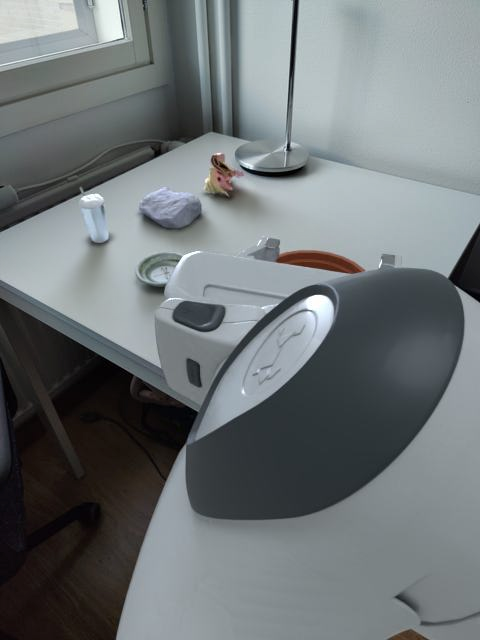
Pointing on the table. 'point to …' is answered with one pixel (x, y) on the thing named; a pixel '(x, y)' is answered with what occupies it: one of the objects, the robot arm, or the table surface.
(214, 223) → the table surface
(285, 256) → the bowl
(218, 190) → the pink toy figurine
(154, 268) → the saucer
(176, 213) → the stone block
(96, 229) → the milkshake
